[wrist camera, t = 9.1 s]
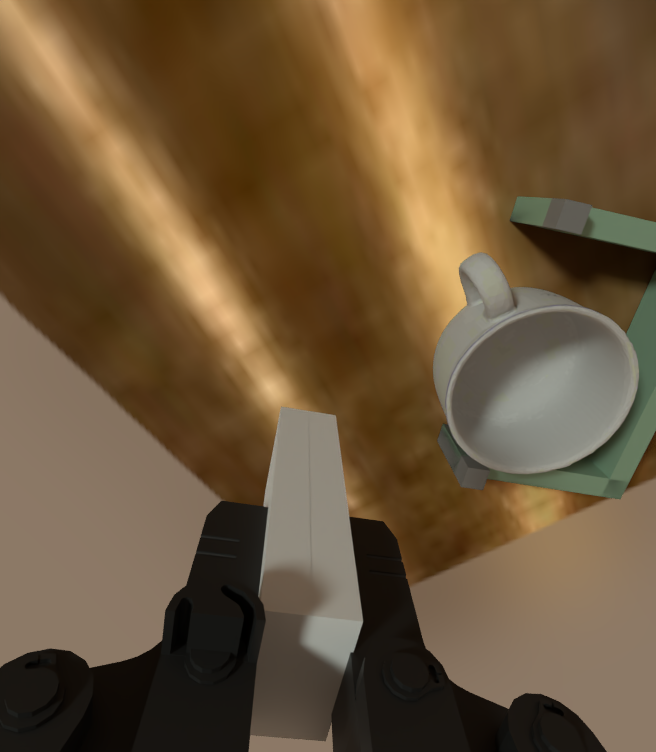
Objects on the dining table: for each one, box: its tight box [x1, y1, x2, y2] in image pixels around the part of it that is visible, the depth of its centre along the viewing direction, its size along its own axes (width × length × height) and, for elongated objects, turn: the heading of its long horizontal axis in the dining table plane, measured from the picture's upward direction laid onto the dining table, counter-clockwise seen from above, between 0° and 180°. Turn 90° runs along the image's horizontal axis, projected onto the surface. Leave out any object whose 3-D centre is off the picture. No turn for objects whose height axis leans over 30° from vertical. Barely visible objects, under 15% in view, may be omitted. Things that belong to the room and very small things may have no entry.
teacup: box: [433, 253, 639, 474], centre depth 30 cm, size 14×11×8 cm
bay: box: [437, 197, 656, 499], centre depth 31 cm, size 18×12×6 cm
